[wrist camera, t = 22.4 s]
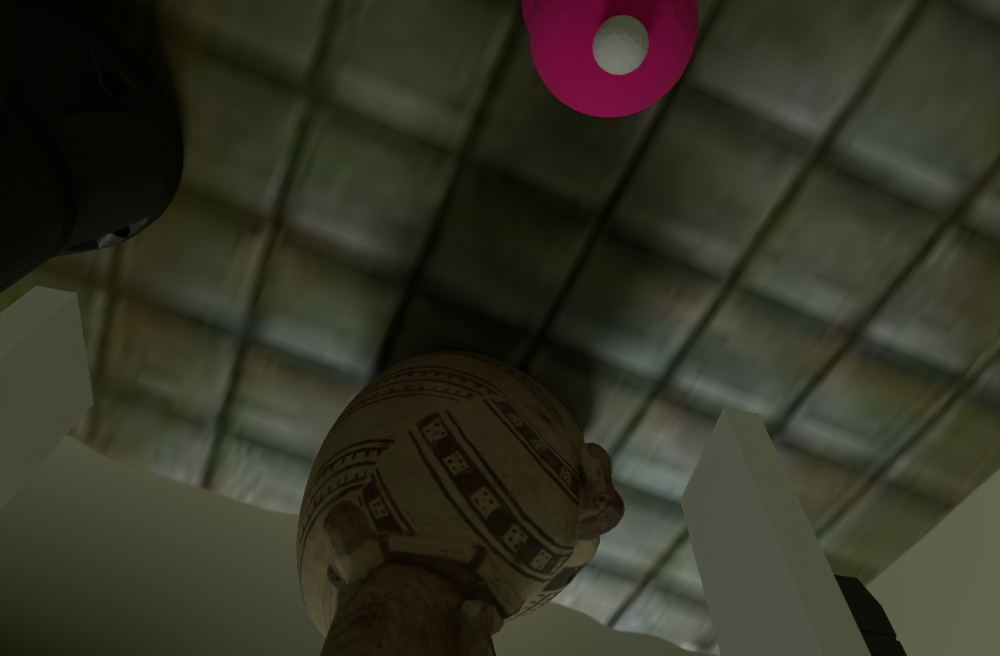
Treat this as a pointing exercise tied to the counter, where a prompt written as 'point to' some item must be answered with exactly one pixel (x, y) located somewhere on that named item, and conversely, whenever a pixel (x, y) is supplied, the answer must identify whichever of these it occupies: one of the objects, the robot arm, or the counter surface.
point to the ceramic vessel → (447, 509)
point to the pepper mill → (610, 50)
